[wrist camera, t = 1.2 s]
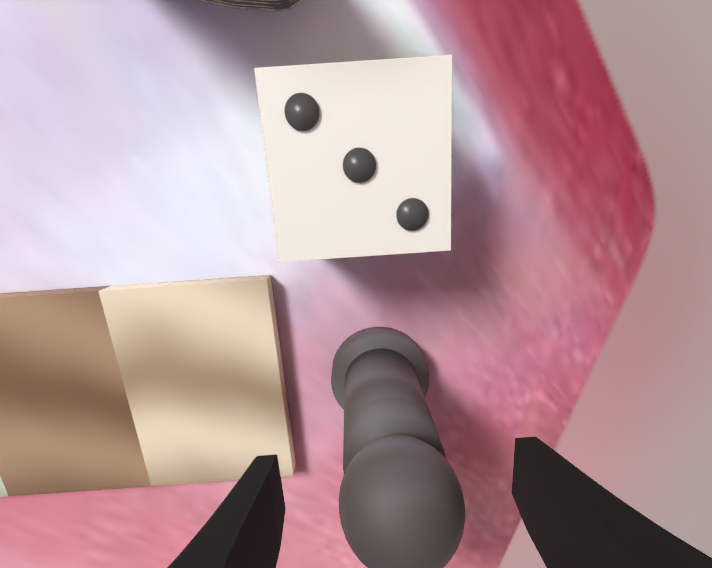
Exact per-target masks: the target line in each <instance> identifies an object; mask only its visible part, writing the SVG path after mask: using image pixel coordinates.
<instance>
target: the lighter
mask: <svg viewBox="0 0 712 568" xmlns="http://www.w3.org/2000/svg"><path fill="white" fill-rule="evenodd" d="M200 1H205V2H210V3H214V4H219V5H224V6H229V7H233V8H242V9H256V10H270V11H282V10H288V9H290V8H292V7H293V6H295V5H296V4H298V3H299V2H300V0H200Z"/></svg>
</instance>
